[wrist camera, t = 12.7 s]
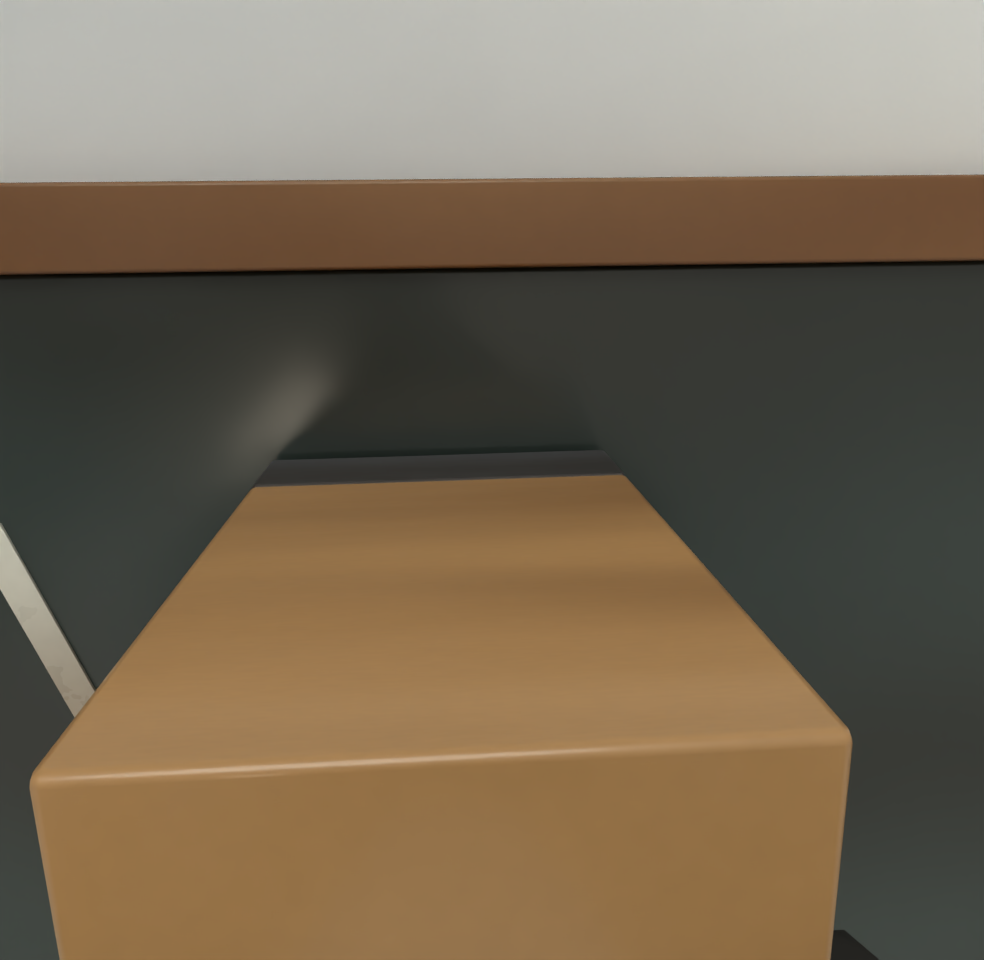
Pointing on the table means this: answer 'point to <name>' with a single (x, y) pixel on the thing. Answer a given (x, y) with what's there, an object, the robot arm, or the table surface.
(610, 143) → the table surface
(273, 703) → the eraser
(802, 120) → the table surface
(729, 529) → the slate board
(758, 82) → the table surface
